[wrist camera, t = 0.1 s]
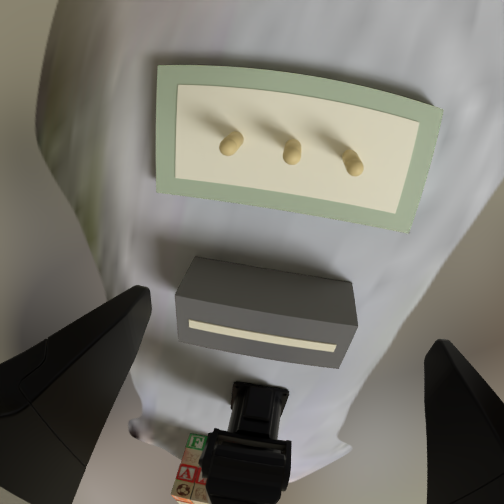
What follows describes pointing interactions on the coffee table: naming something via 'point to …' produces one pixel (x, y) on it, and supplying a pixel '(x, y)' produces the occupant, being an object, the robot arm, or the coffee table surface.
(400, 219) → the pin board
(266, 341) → the panel
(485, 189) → the coffee table surface
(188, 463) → the stack of blocks
